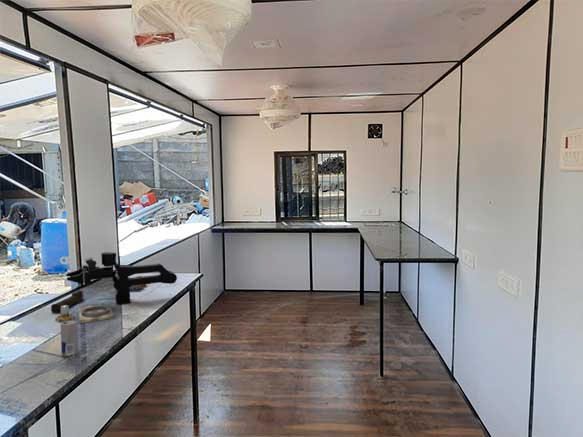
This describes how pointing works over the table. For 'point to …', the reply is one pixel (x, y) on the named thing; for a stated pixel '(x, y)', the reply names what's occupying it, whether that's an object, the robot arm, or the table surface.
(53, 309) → the hand tool
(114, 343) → the table surface
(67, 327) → the energy drink
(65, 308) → the bronze gear
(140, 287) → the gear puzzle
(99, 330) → the table surface
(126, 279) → the robot arm
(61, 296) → the table surface
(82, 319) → the gear board
